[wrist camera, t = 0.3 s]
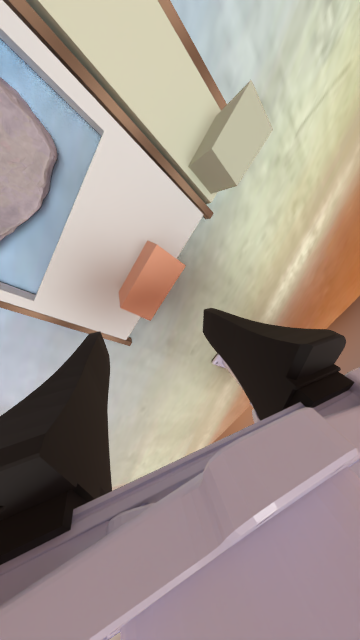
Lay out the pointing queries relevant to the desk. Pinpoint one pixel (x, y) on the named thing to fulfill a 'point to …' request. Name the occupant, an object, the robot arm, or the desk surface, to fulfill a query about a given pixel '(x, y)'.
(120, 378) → the desk surface
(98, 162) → the cube strip
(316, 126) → the desk surface
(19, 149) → the stone block
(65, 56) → the lane rails
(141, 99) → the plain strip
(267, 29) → the desk surface
